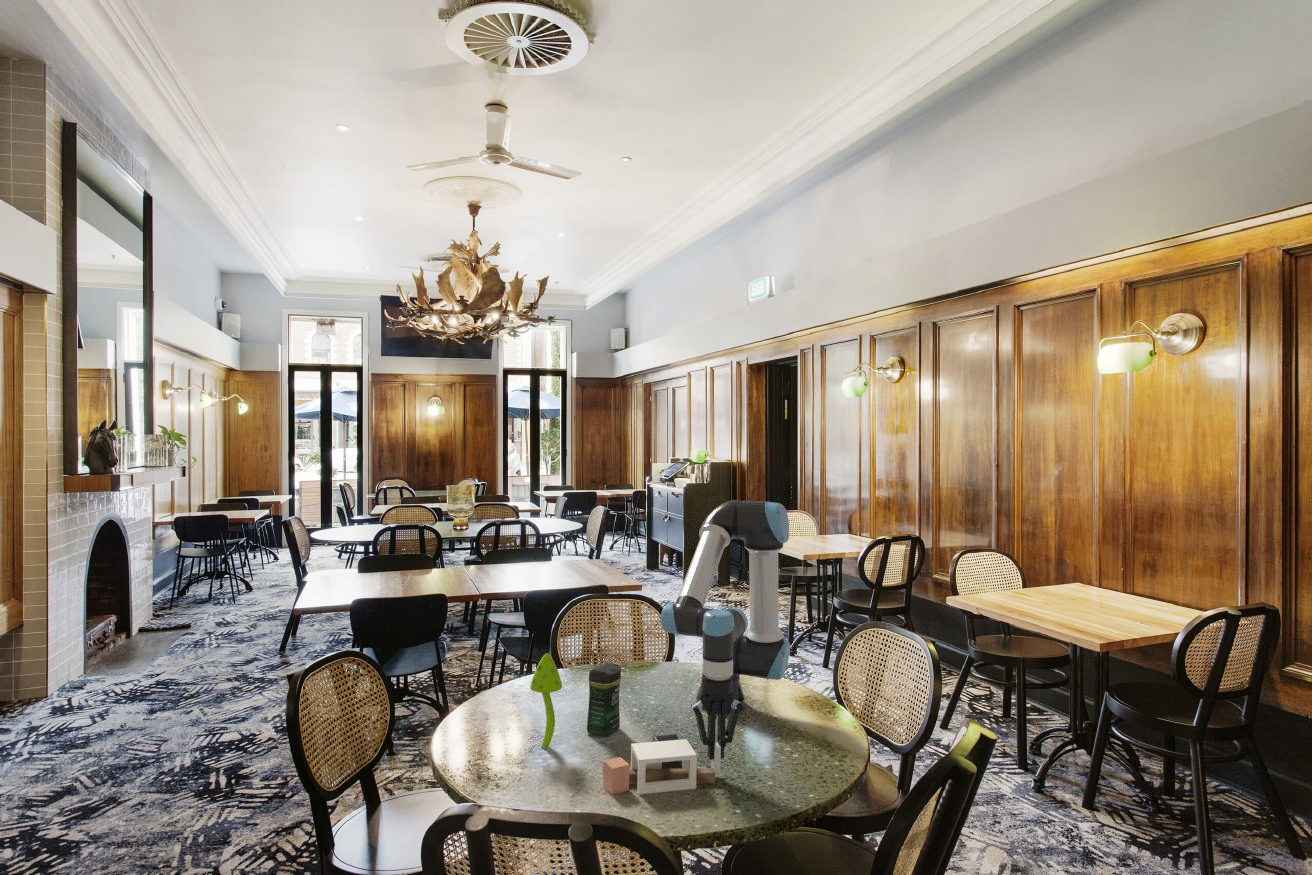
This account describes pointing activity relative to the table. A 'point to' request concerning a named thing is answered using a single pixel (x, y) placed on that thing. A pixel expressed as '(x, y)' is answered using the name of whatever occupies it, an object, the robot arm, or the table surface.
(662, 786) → the tunnel
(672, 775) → the rod
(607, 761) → the block
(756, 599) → the robot arm
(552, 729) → the mushroom
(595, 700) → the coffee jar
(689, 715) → the table surface
